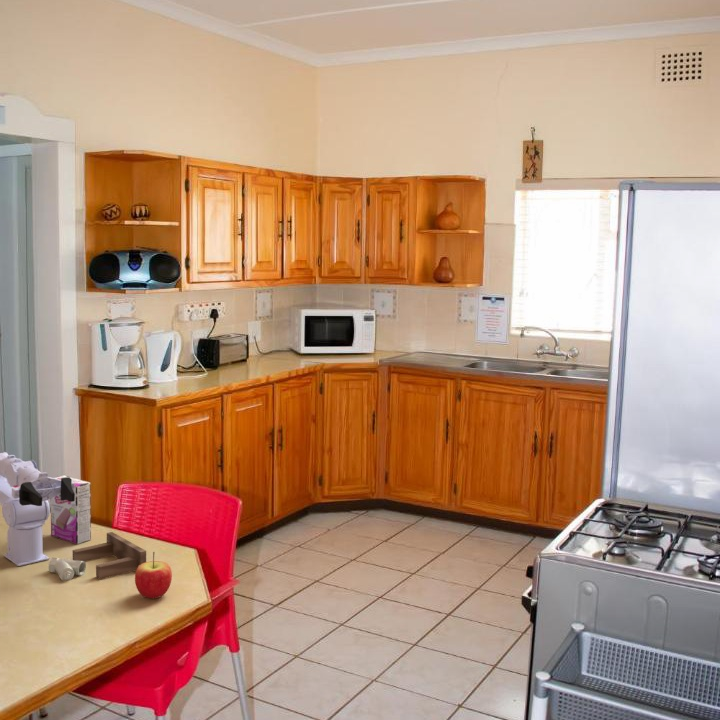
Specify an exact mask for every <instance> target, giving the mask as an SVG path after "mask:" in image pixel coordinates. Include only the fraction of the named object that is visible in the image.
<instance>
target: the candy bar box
mask: <svg viewBox="0 0 720 720" xmlns="http://www.w3.org/2000/svg"><path fill="white" fill-rule="evenodd" d="M65 477H69V478H71V479H72V482H74V483H75V489H74V493H75V500H74V501H73V502H70V501H68V500H62V501H61V494H59V495H57V496H55V497H53V498H51V499H50V536H51V537H54V538H57V539H59V540H63V541H65V542H69V543H73V544H75V545H81V544H84V543H86V542H89V541H91V540H92V521H91V520H92V519H91V518H92V516H91V515H92V514H91V510H92V509H91V508H92V507H91V506H92V505H91V482H89V481H87V480H82V479H79V478H75V477H71V476H68V475H65V474H64V475H61V476H56V477H54V478H55V479H59V480H61V478H65Z"/></svg>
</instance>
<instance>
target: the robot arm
mask: <svg viewBox="0 0 720 720" xmlns="http://www.w3.org/2000/svg"><path fill="white" fill-rule="evenodd" d="M37 465H38V464H37V463H36V461H35V460H33V459H30V460H28V461H27V460H26V461H24V460H22V459H21V458H20V457H19V458H17V457H16V455H14V454H8V452H7V451H2V452H0V505H1V507H2V508H1V514H2V517H3V519H4V521H5V524H6V525H8V526H9V527H8V529H7V536H6V537H7V538H6V539H7V553H3V557H5V558H7V559H8V560H9V561H11V562H12V563H13V564H14V565H16V566H17V567H21V566H25V565H29V564H34V563H39V562H42V561H43V562H44V561H47V560H48V561H49V559H50V557H49V556H47V555H46V554H44V553H43V551H44V550H43V549H44V548H43V540H44V539H43V525H46V524H45V523H46V521H48V519H49V517H50V515H51V505H50V503H49V500H51V498H53V497H55V496H57V495H59V494H61V501H62V500H68V501H70V502H73V501H74V500H75V493H74V489H75V483H74V482H72V479H71V478H69V477H70V476H68V477H65V478H61V480H59V479H55V478H56V477H50V476H49V473H48V472H46V471H44V472H41V471H40V470H39V469H38V466H37Z"/></svg>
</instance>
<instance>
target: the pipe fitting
mask: <svg viewBox="0 0 720 720" xmlns="http://www.w3.org/2000/svg"><path fill="white" fill-rule="evenodd" d="M86 568H87V565H86V562H84V561H78V560H76V561H75V560H73V559H65V558H64V559H63V558H59V557H51V559H50V560H49V563H48V572H49V573H56V574H57V575H58V576H59V578H60V579H61V580H62V581H69V580H72V579H73V578H74V576H83V575H84V574H85V571H86Z"/></svg>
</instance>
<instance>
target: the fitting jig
mask: <svg viewBox="0 0 720 720" xmlns="http://www.w3.org/2000/svg"><path fill="white" fill-rule="evenodd" d="M71 552H72V560H75V561H76V560H78V561H84V562H85V563H86V562H90V561H94V560H99V559H103V558H107V557H111V556H113V557H115V558H117V559H116V560H112V561H107V562H103V563H98V564H95V578H97V579H99V580H103V579H107V578H111V577H115V576H119V575H123V574H128V573H131V572H136V570H137V568H138V566H139V565H141V564H142V563H145V562H147V550H146V549H144V548H142V547H140V546H138V545H137V544H135V543H133V542H131V541H130V540H127V539H125V538H123V537H122V536H121V535H118V534H117V533H115V532H114V531H110V532H106V542H103V543H98V544H94V545H89V546H85V547H81V548H76V549H72V551H71Z"/></svg>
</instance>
